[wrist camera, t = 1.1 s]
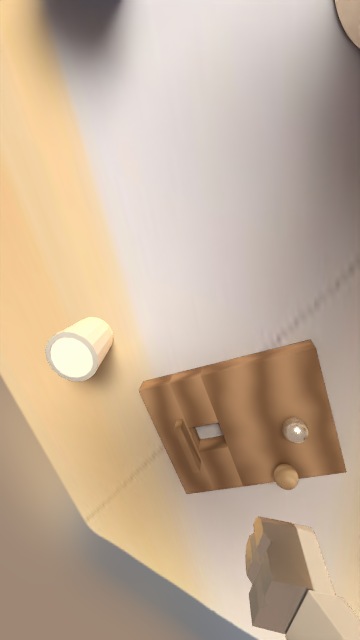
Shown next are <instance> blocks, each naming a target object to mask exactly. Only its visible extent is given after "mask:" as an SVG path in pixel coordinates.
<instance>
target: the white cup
mask: <svg viewBox="0 0 360 640" xmlns="http://www.w3.org/2000/svg"><path fill="white" fill-rule="evenodd" d="M112 343H113V332H112V330H111V328H110V326H109V325H108V324H107V323H106V322H105V321H103V320H101V319H99V318H96V317H88V318H85V319H83V320H81V321H79V322H77V323H75V324H73V325H72V326H70V327H68V328H66V329H64V330H62V331H61V332H59V333H57V334H55V335H54V336H53V337H52V338H51V339H50V340H49V341H48V343H47V346H46V350H45V351H46V358H47V361H48V363H49V365H50V366H51V368H52V369H53V370H54V371H55V372H56V373H57V374H58V375H59V376H61V377H63V378H65V379H67V380H69V381H78V382H80V381H84V380H87V379H89V378H90V377H91V376H93V375H94V374H95V373H96V371H97V369H98V367H99V366H100V364H101V362H102V361H103V359H104V357H105V356H106V354H107V352H108V351H109V349H110V347H111V345H112Z"/></svg>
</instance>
